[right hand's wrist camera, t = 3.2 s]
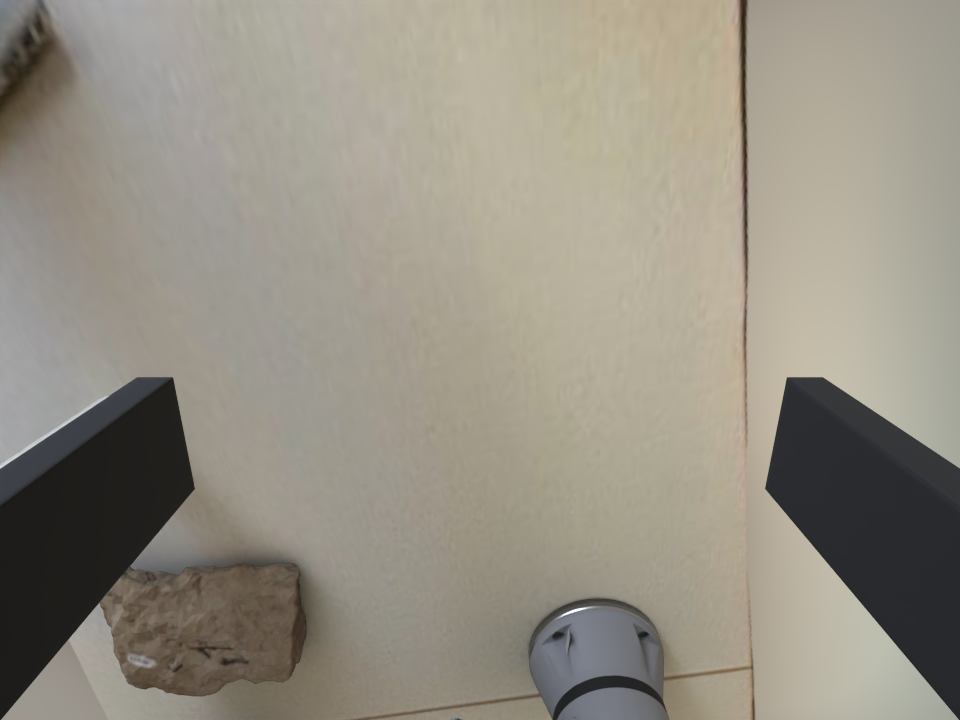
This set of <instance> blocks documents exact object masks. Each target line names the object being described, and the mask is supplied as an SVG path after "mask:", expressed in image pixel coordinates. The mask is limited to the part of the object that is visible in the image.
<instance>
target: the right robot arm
mask: <svg viewBox="0 0 960 720" xmlns="http://www.w3.org/2000/svg"><path fill="white" fill-rule="evenodd" d="M194 489H195V487H194V482H193V477H192V472H191V467H190V462H189V457H188V452H187V447H186V441H185V436H184V431H183V426H182V421H181V416H180V411H179V406H178V401H177V396H176V390H175V385H174V380H173V377H137V378H136V379H134V380H133V381H131V382H130V383H128V384H127V385H125V386H124V387H122V388H121V389H119V390H118V391H116V392H115V393H113V394H112V395H110V396H109V397H107V398H106V399H104V400H102V401H101V402H99V403H98V404H96V405H95V406H93V407H92V408H90V409H89V410H87V411H86V412H84V413H83V414H81V415H80V416H78V417H77V418H75V419H74V420H72V421H71V422H69V423H68V424H66V425H65V426H63V427H62V428H60V429H59V430H57V431H56V432H54V433H53V434H51V435H50V436H48V437H47V438H45V439H44V440H42V441H41V442H39V443H38V444H36V445H35V446H33V447H32V448H30V449H29V450H27V451H26V452H24V453H23V454H21V455H20V456H18V457H17V458H15V459H14V460H12V461H11V462H9V463H8V464H6V465H5V466H3V467H2V468H0V720H1V719H2V718H3V717H4V715H5V714H6V713H7V712H8V711H9V709H10V708H11V707H12V706H13V705H14V703H15V702H16V701H17V700H18V699H19V698H20V696H21V695H22V694H23V693H24V692H25V690H26V689H27V688H28V687H29V686H30V684H31V683H32V682H33V681H34V680H35V678H36V677H37V676H38V675H39V674H40V672H41V671H42V670H43V669H44V668H45V666H46V665H47V664H48V663H49V662H50V661H51V659H52V658H53V657H54V656H55V655H56V653H57V652H58V651H59V650H60V649H61V647H62V646H63V645H64V644H65V643H66V642H67V640H68V639H69V638H70V637H71V636H72V634H73V633H74V632H75V631H76V630H77V628H78V627H79V626H80V625H81V624H82V622H83V621H84V620H85V619H86V618H87V617H88V615H89V614H90V613H91V612H92V611H93V609H94V608H95V607H96V606H97V605H98V603H99V602H100V601H101V600H102V599H103V597H104V596H105V595H106V594H107V593H108V592H109V590H110V589H111V588H112V587H113V586H114V584H115V583H116V582H117V581H118V580H119V578H120V577H121V576H122V575H123V574H124V572H125V571H126V570H127V569H128V568H129V567H130V565H131V564H132V563H133V562H134V561H135V559H136V558H137V557H138V556H139V555H140V553H141V552H142V551H143V550H144V549H145V547H146V546H147V545H148V544H149V543H150V542H151V540H152V539H153V538H154V537H155V536H156V534H157V533H158V532H159V531H160V530H161V528H162V527H163V526H164V525H165V524H166V522H167V521H168V520H169V519H170V518H171V516H172V515H173V514H174V513H175V512H176V511H177V509H178V508H179V507H180V506H181V505H182V503H183V502H184V501H185V500H186V499H187V497H188V496H189V495H190V494H191V493H192V491H193V490H194ZM765 489H766V490H767V491H768V493H769V494H770V495H771V496H772V497H773V499H774V500H775V501H776V502H777V503H778V505H779V506H780V507H781V508H782V509H783V510H784V512H785V513H786V514H787V515H788V516H789V518H790V519H791V520H792V521H793V522H794V524H795V525H796V526H797V527H798V528H799V530H800V531H801V532H802V533H803V534H804V536H805V537H806V538H807V539H808V540H809V542H810V543H811V544H812V545H813V546H814V547H815V549H816V550H817V551H818V552H819V553H820V555H821V556H822V557H823V558H824V559H825V561H826V562H827V563H828V564H829V565H830V566H831V568H832V569H833V570H834V571H835V572H836V574H837V575H838V576H839V577H840V578H841V580H842V581H843V582H844V583H845V584H846V586H847V587H848V588H849V589H850V590H851V592H852V593H853V594H854V595H855V596H856V597H857V599H858V600H859V601H860V602H861V603H862V605H863V606H864V607H865V608H866V609H867V611H868V612H869V613H870V614H871V615H872V617H873V618H874V619H875V620H876V621H877V622H878V624H879V625H880V626H881V627H882V628H883V630H884V631H885V632H886V633H887V634H888V635H889V637H890V638H891V639H892V640H893V642H894V643H895V644H896V645H897V646H898V648H899V649H900V650H901V651H902V652H903V653H904V655H905V656H906V657H907V658H908V659H909V661H910V662H911V663H912V664H913V665H914V667H915V668H916V669H917V670H918V671H919V673H920V674H921V675H922V676H923V677H924V678H925V680H926V681H927V682H928V683H929V684H930V686H931V687H932V688H933V689H934V690H935V692H936V693H937V694H938V695H939V696H940V698H941V699H942V700H943V701H944V702H945V703H946V705H947V706H948V707H949V708H950V709H951V711H952V712H953V713H954V714H955V715H956V717H957V718H958V719H959V720H960V468H958V467H957V466H955V465H954V464H952V463H951V462H949V461H948V460H946V459H945V458H943V457H942V456H940V455H939V454H937V453H936V452H934V451H933V450H931V449H930V448H928V447H927V446H925V445H924V444H922V443H921V442H919V441H918V440H916V439H915V438H913V437H912V436H910V435H909V434H907V433H906V432H904V431H903V430H901V429H900V428H898V427H897V426H895V425H893V424H892V423H890V422H889V421H887V420H886V419H885V418H883V417H882V416H880V415H879V414H877V413H876V412H874V411H873V410H871V409H870V408H868V407H867V406H865V405H863V404H862V403H860V402H859V401H857V400H856V399H854V398H853V397H851V396H850V395H848V394H847V393H845V392H844V391H842V390H841V389H839V388H838V387H836V386H835V385H833V384H832V383H830V382H829V381H827V380H826V379H824V378H823V377H787V380H786V385H785V390H784V396H783V401H782V406H781V411H780V416H779V421H778V426H777V431H776V436H775V442H774V447H773V452H772V457H771V462H770V467H769V472H768V477H767V482H766V487H765ZM529 663H530V671H531V675H532V677H533V680H534V683H535V685H536V687H537V689H538V691H539V693H540V695H541V697H542V699H543V701H544V703H545V705H546V707H547V709H548V711H549V713H550V715H551V717H552V719H553V720H669V717H668V714H667V711H666V708H665V705H664V702H663V677H664V656H663V648H662V644H661V641H660V639H659V636H658V633H657V631H656V629H655V627H654V625H653V623H652V622H651V621H650V620H649V618H648V617H647V616H646V615H645V614H643V613H642V612H641V611H639V610H638V609H636V608H634V607H632V606H630V605H628V604H626V603H623V602H619V601H615V600H609V599H588V600H582V601H577V602H574V603H571V604H568V605H565V606H563V607H561V608H559V609H557V610H556V611H554V612H553V613H551V614H550V615H548V616H547V617H546V618H545V619H544V620H543V621H542V622H541V623H540V624H539V625H538V627H537V628H536V630H535V631H534V633H533V635H532V638H531V640H530V644H529ZM451 720H461V719H459V718H455V719H451Z"/></svg>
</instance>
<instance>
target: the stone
mask: <svg viewBox="0 0 960 720" xmlns="http://www.w3.org/2000/svg"><path fill="white" fill-rule="evenodd" d="M299 576H300V571H299V568H298V567H297V565H296V564H294V563H290V564H279V563H278V564H272V565H265V566H261V567H256V566H248V565H246V564H239V565H235V566H233V565H232V566H230V567H227V568H217V567H214V566H212V567H187V568H185V569H184V570H183V572H182V573H181V574H180V575H173V574H170V573H167V572H156V573H153V572H150V571H144V570H140V569H139V570H134V569H132V568H131V567H129V568H128V569H127V570H126V571H125V572H124V574H123V575H122V576H121V577H120V578H119V580H118V581H117V582H116V583H115V584H114V586H113V587H112V588H111V589H110V590H109V592H108V593H107V594H106V595H105V596H104V597H103V599H102V600H101V601H100V605H101V608H102V609H103V611H104V616H105V619H106V621H107V624H108V625H109V626H110V627H111V628H112V629H111V634H112V636H113V642H114V653H115V656H116V657H117V659H118V660H119V663H120V667H121V670H122V673H123V674H124V676H125V678H126V681H127V682H128V683H129V684H131V685H133V686H134V687H137V688H140V689H148V688H150V687H156V688H158V689H162V690H164V691H165V692H166V693H173V694H178V695H188V696H206V695H210V694H214V693H216V692H217V691H219V690H220V689H221V688H222V687H223V686H224V685H225V684H227V683H229V682H234V681H236V680H238V679H246V680H248V681H251V682H253V683H254V684H257V683H260V682H263V681H276V682H284V681H286V680H288V679H289V678H290V677H291V676H292V673H293V672H294V669H295V666H296V664H297V663H299V661H300V658H301V653H302V648H303V644H304V640H305V638H306V620H305V616H304V613H303V611H302V609H301V598H300V586H299V582H298V579H299Z"/></svg>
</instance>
